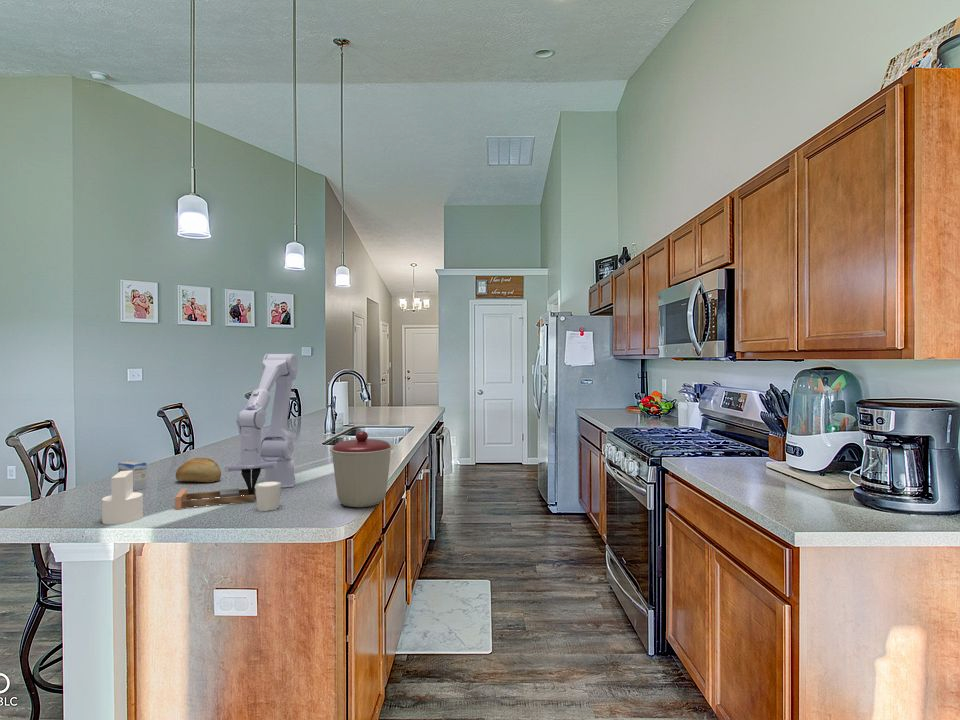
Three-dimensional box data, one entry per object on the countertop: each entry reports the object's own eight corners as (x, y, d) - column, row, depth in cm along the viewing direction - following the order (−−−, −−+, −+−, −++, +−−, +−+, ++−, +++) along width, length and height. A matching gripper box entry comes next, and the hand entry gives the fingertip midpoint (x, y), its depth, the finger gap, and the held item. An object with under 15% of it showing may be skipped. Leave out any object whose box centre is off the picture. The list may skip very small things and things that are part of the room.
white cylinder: (256, 513, 148) (256, 487, 148) (254, 506, 154) (253, 482, 154) (282, 509, 151) (282, 484, 151) (279, 503, 158) (279, 479, 157)
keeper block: (238, 498, 165) (238, 488, 165) (238, 502, 160) (238, 492, 160) (220, 499, 163) (220, 490, 163) (220, 504, 157) (220, 494, 157)
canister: (380, 513, 147) (379, 436, 147) (318, 510, 151) (318, 435, 151) (401, 496, 165) (401, 427, 165) (346, 493, 168) (345, 426, 168)
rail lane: (255, 493, 169) (255, 482, 169) (254, 502, 159) (254, 490, 159) (181, 500, 161) (181, 488, 161) (175, 509, 152) (175, 497, 152)
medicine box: (117, 489, 175) (117, 462, 175) (130, 486, 179) (130, 460, 179) (133, 491, 172) (133, 464, 172) (147, 488, 176) (147, 462, 176)
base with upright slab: (107, 516, 146) (107, 472, 146) (146, 512, 149) (145, 469, 149) (97, 526, 137) (97, 479, 137) (138, 522, 141) (138, 476, 140)
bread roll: (184, 478, 191) (184, 456, 191) (227, 478, 191) (227, 455, 191) (169, 485, 181) (169, 461, 181) (214, 484, 181) (213, 461, 181)
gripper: (223, 452, 157) (223, 499, 157) (276, 449, 162) (276, 494, 162) (225, 448, 163) (225, 493, 164) (276, 445, 169) (276, 489, 169)
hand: (251, 493), depth 163 cm, fingers closed
